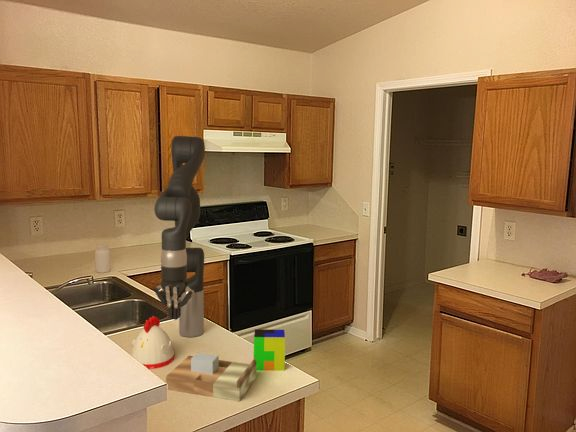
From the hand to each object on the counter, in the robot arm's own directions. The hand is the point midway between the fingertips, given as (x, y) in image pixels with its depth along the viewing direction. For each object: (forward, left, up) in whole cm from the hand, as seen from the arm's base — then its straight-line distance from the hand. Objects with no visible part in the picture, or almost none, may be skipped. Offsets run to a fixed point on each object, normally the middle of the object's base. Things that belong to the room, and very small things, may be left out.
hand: (174, 318), depth 147 cm
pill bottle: (-100, -97, -19) cm, 141 cm away
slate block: (0, +10, -15) cm, 18 cm away
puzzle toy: (-18, +25, -19) cm, 36 cm away
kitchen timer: (-9, -13, -19) cm, 25 cm away
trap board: (0, +12, -19) cm, 23 cm away
